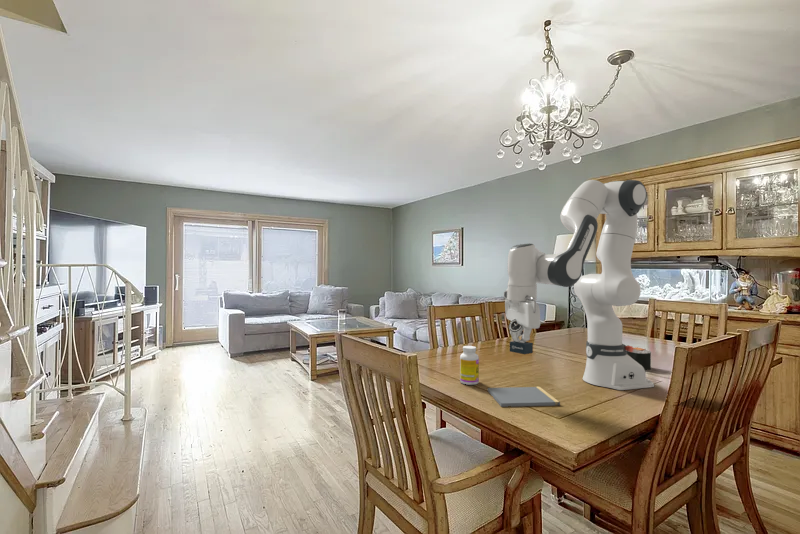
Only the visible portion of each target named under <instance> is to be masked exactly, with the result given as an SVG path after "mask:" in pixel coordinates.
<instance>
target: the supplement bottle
mask: <svg viewBox="0 0 800 534" xmlns="http://www.w3.org/2000/svg"><path fill="white" fill-rule="evenodd" d="M462 351H463V352H462V353H461V354H460V356H459V381H460V383H461V384H463V385H465V384H466V386H475V385H477V384H479V380H480V379H479V377H480V375H479V374H480V373H479V372H480V367H479V365H480V362H479V361H480V360H479V359H480V357H479V355H478V354H477V353H476V352H477V347H476V346H474V345H473V346H472V345H463V346H462Z"/></svg>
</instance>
